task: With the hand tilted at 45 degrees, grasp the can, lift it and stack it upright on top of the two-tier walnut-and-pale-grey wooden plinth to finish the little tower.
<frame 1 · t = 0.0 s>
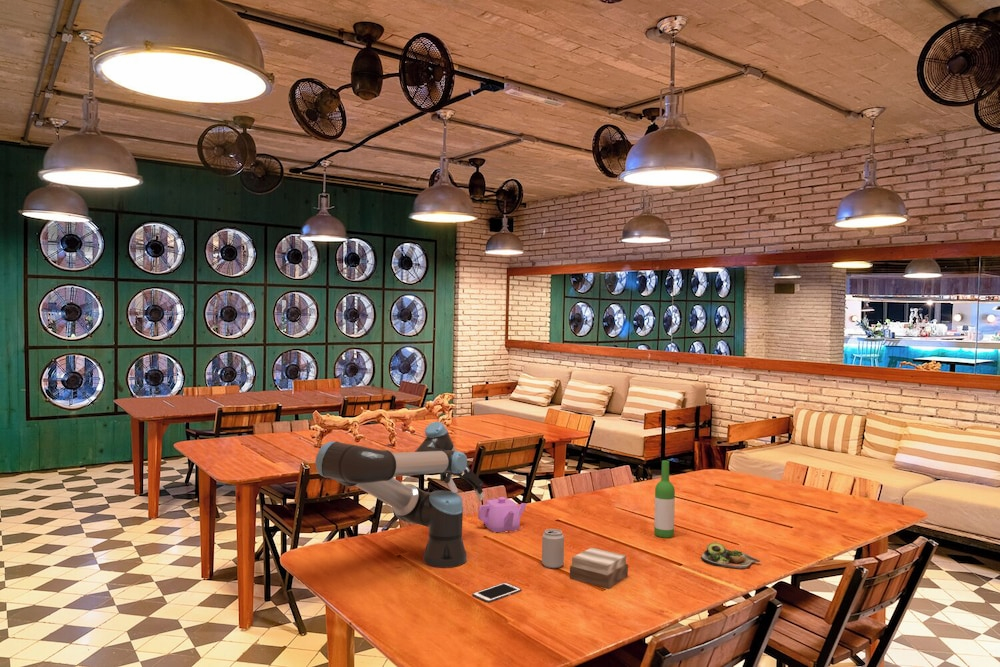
hand: (468, 495, 269), 15 cm above the table, tool tilted 35°, fingers open, 13 cm apart
can: (552, 566, 235), on the table
salad plate: (725, 561, 244), on the table
cell phone: (497, 594, 209), on the table
plinth: (598, 577, 224), on the table
wine bottle: (664, 536, 272), on the table
teakettle: (502, 528, 279), on the table
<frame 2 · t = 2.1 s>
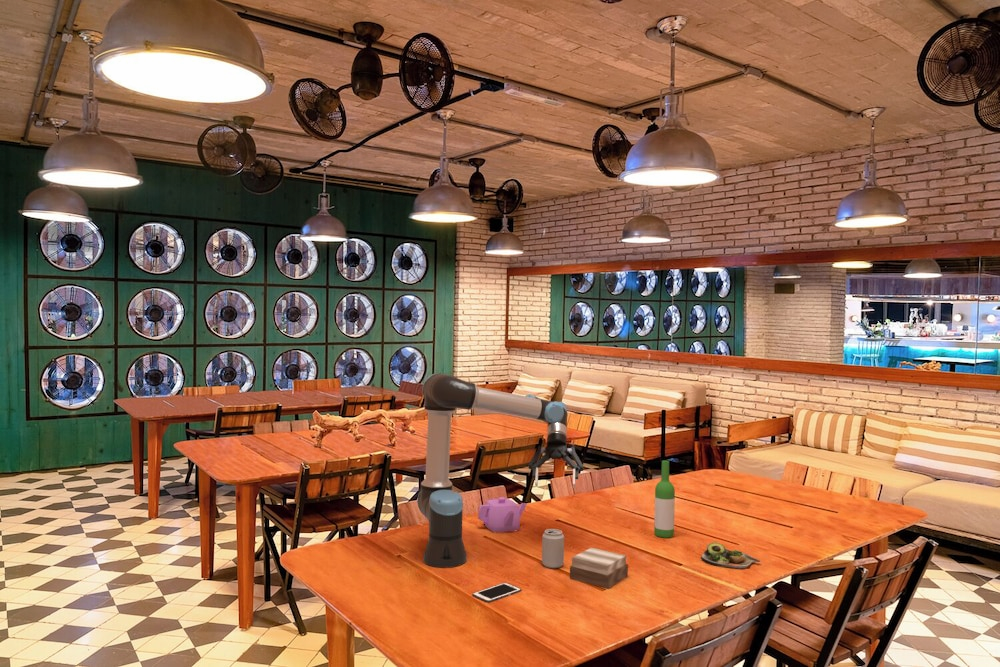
hand: (555, 485, 246), 25 cm above the table, tool tilted 45°, fingers open, 13 cm apart
nothing on the table moved.
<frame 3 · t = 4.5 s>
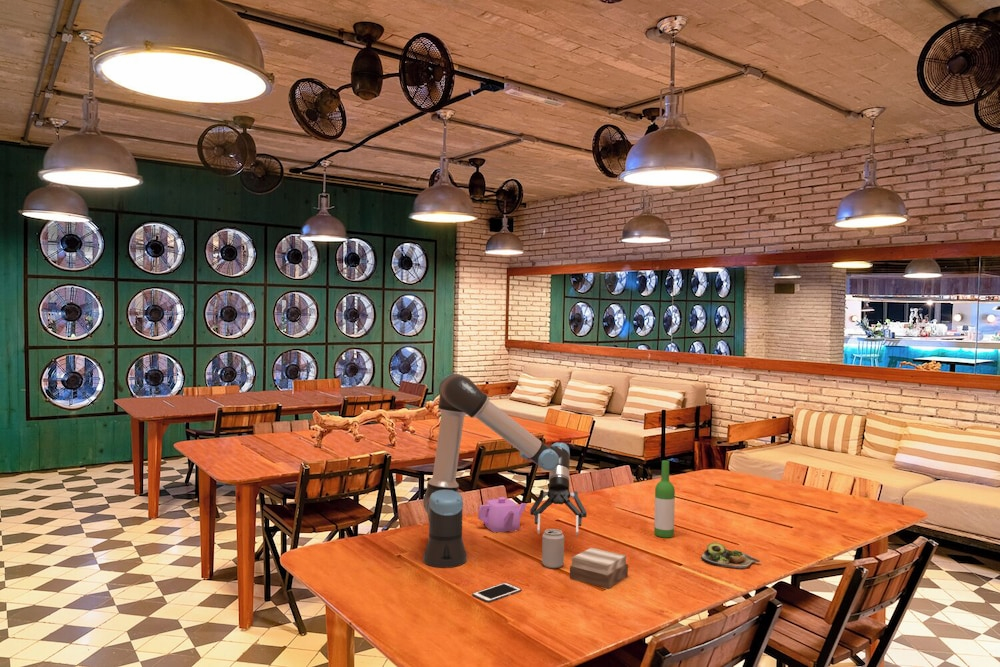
hand: (557, 533, 240), 10 cm above the table, tool tilted 45°, fingers open, 13 cm apart
nothing on the table moved.
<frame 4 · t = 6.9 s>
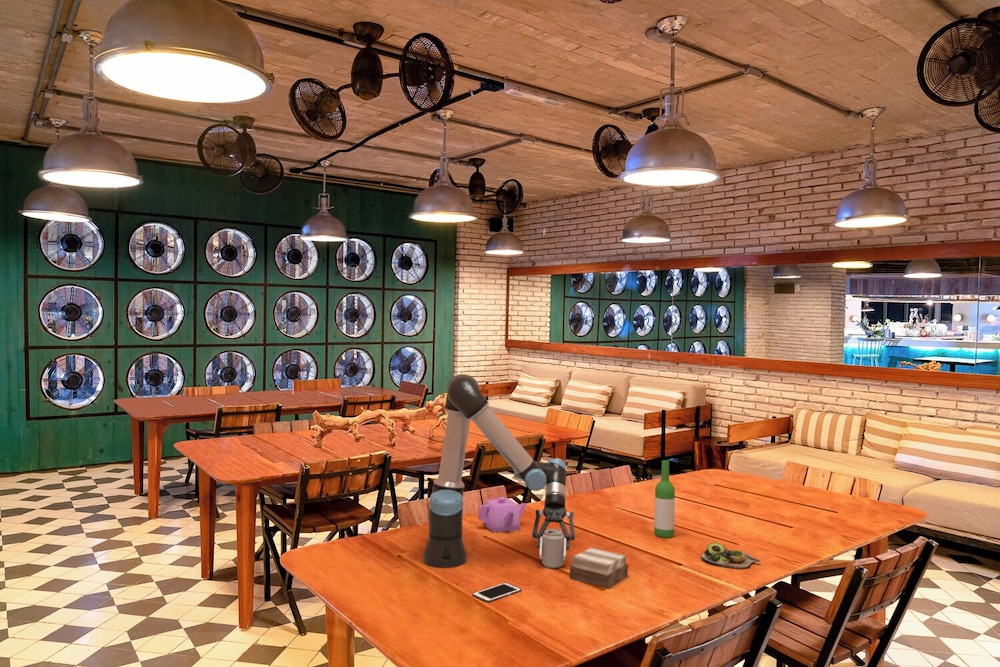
hand: (552, 556, 232), 4 cm above the table, tool tilted 45°, fingers closed on can, 7 cm apart
can: (552, 565, 235), on the table, touching gripper
everything else where it was.
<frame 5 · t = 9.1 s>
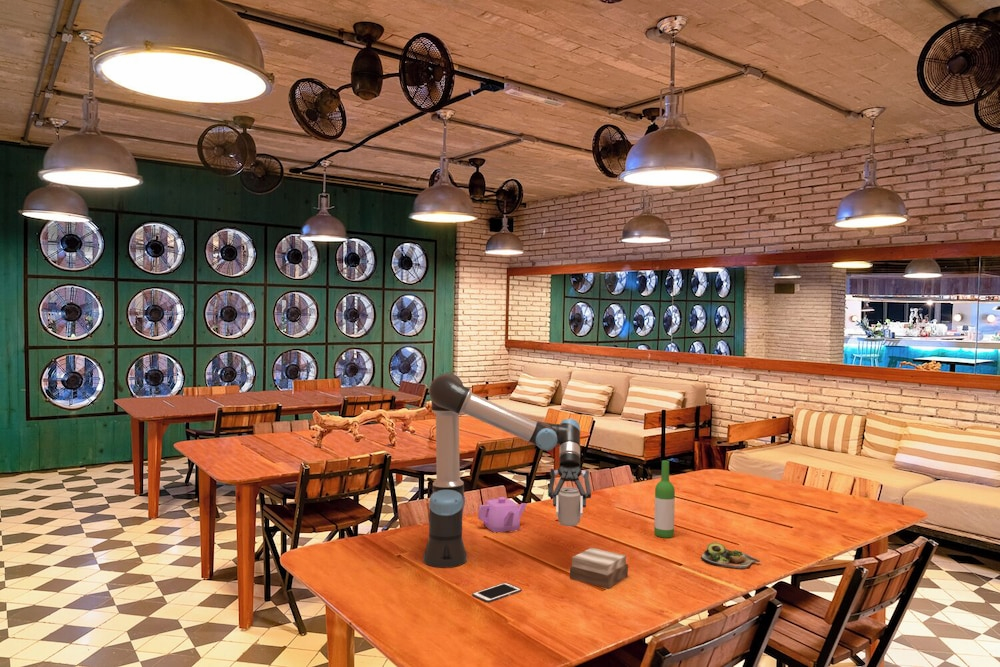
hand: (569, 514, 229), 19 cm above the table, tool tilted 45°, fingers closed on can, 7 cm apart
can: (569, 524, 233), point 15 cm above the table, touching gripper
everything else where it was.
when the fingers open (12 cm above the table, at t = 11.6 s): can drops 1 cm, resting on plinth.
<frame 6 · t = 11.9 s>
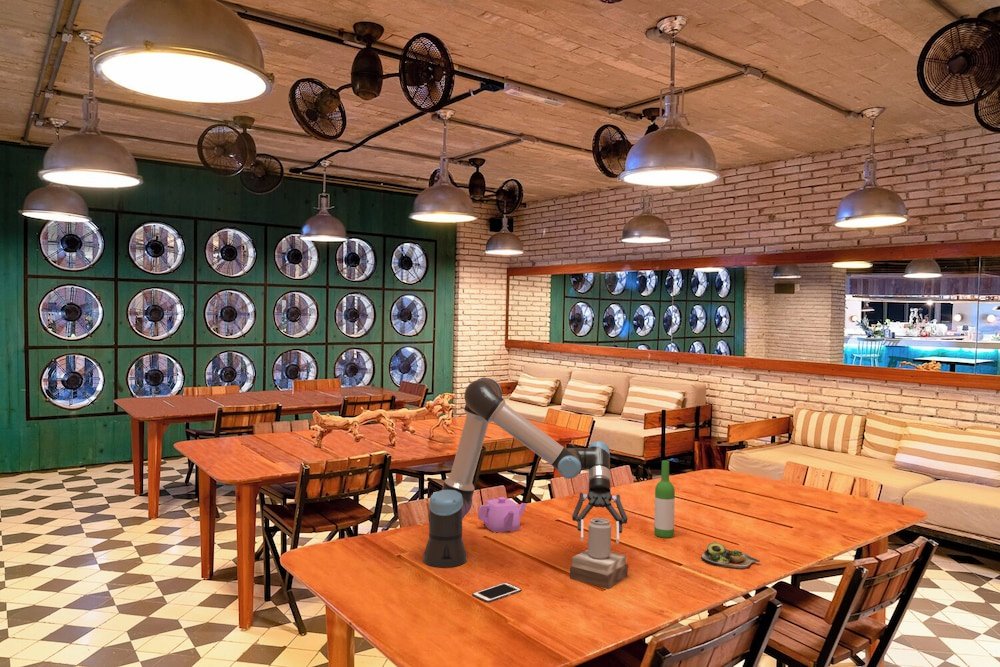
hand: (599, 540, 221), 13 cm above the table, tool tilted 45°, fingers open, 11 cm apart
can: (599, 556, 224), point 7 cm above the table, touching plinth
everything else where it was.
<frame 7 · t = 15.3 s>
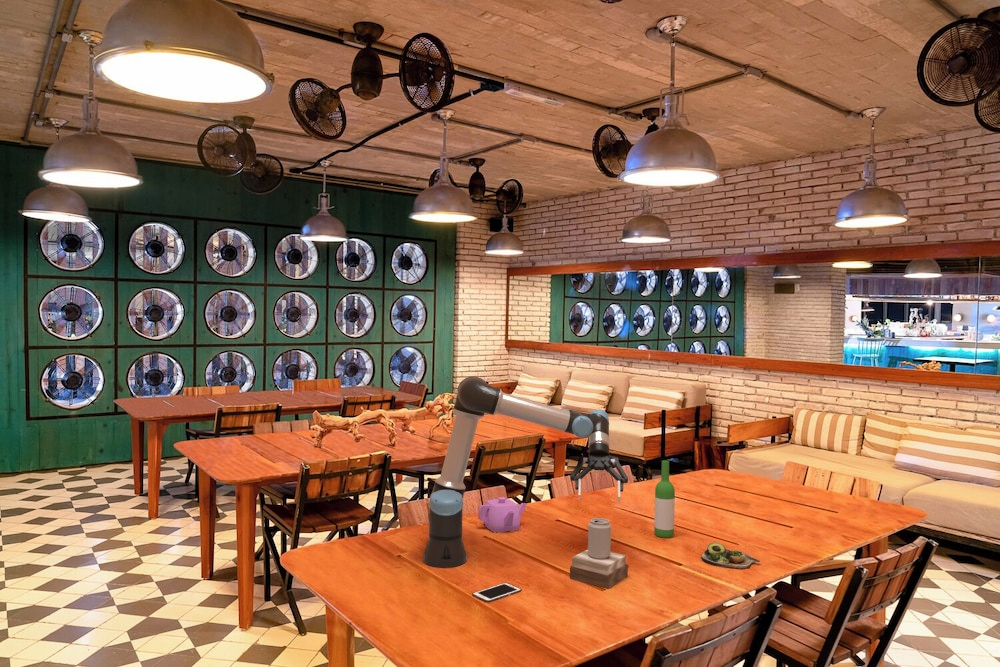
hand: (599, 498, 235), 24 cm above the table, tool tilted 45°, fingers open, 13 cm apart
nothing on the table moved.
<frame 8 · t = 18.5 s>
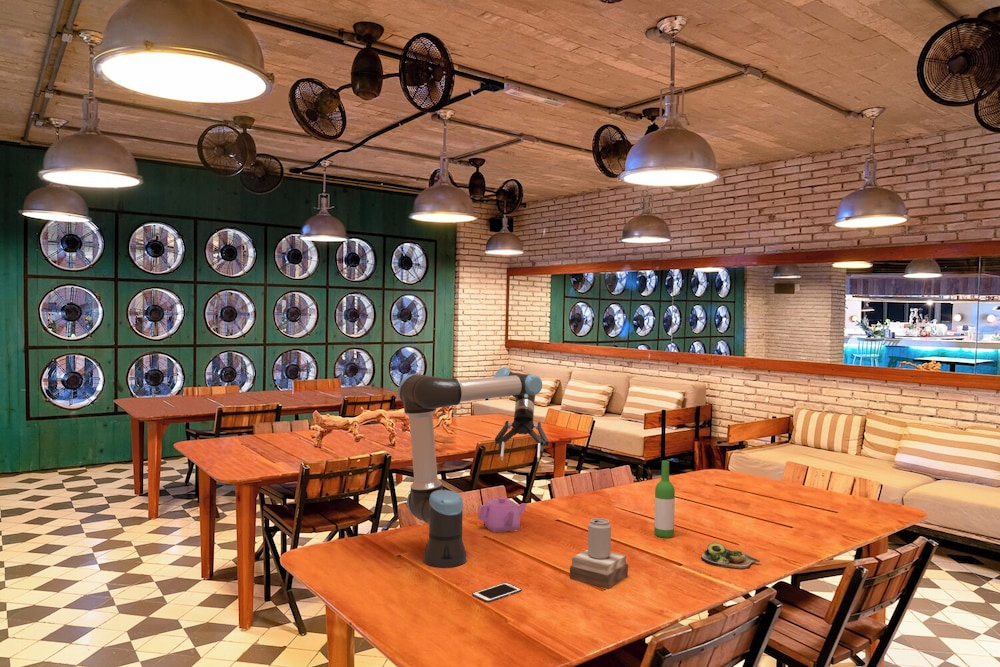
hand: (520, 459, 251), 34 cm above the table, tool tilted 45°, fingers open, 13 cm apart
nothing on the table moved.
at the end: can inside the target area on the plinth (0.1 cm from its centre), point 6.8 cm above the plinth's base; can tilted 0°; the gripper is holding nothing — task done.
